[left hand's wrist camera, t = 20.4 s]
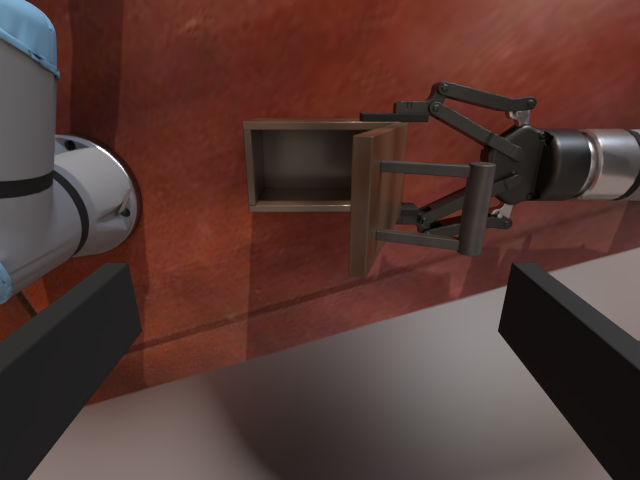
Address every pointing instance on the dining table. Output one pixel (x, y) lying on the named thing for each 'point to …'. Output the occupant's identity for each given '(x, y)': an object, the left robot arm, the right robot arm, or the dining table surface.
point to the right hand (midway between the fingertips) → (359, 165)
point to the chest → (301, 163)
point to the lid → (386, 198)
